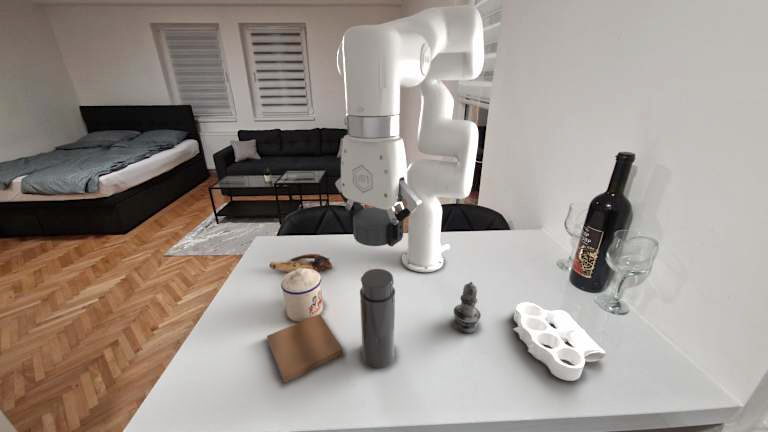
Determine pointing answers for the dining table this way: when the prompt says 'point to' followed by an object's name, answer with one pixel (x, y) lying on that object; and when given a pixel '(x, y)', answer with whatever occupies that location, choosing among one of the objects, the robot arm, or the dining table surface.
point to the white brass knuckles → (556, 340)
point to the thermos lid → (371, 226)
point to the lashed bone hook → (303, 263)
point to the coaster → (303, 347)
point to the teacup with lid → (302, 294)
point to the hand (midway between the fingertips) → (375, 235)
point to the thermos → (377, 317)
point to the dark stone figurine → (467, 311)
